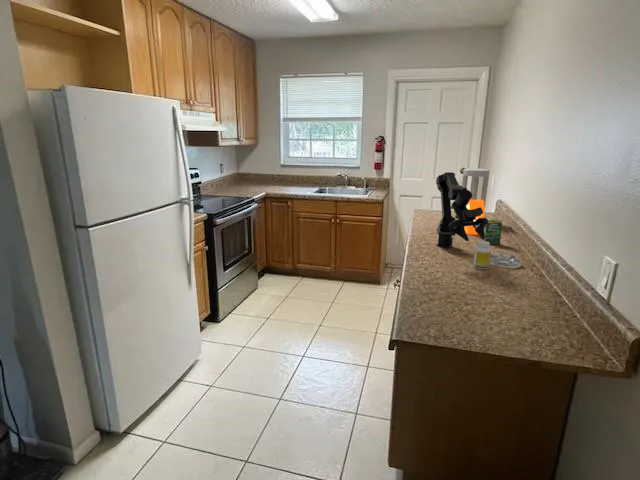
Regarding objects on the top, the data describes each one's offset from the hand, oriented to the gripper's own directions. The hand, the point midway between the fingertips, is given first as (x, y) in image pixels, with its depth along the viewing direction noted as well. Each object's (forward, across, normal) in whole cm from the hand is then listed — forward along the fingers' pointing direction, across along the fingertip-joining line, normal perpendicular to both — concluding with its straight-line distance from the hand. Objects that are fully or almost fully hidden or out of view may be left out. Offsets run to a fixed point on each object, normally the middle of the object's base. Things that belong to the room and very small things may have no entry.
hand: (476, 240), depth 175 cm
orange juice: (-24, +42, +40) cm, 63 cm away
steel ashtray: (+11, +14, +5) cm, 19 cm away
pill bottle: (+11, 0, +5) cm, 12 cm away
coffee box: (-9, +35, +25) cm, 44 cm away
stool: (-42, +63, +58) cm, 95 cm away
